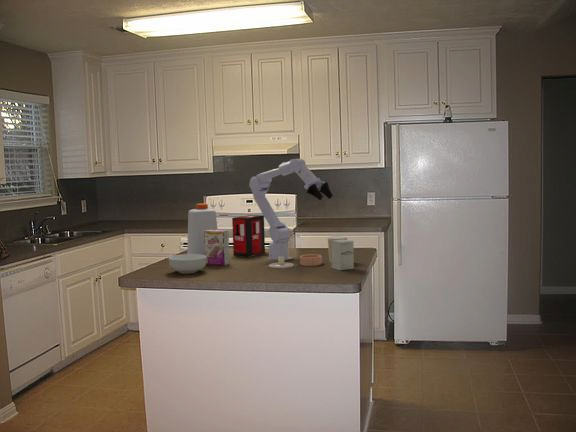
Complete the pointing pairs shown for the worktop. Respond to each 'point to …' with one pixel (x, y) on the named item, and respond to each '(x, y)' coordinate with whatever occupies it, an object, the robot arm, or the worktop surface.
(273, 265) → the lid
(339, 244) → the supplement box
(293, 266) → the mat
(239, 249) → the cleaning product box
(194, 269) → the cereal bowl
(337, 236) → the coffee cup
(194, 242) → the plastic bottle
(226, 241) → the candy bar box
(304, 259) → the ramekin
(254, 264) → the worktop surface
